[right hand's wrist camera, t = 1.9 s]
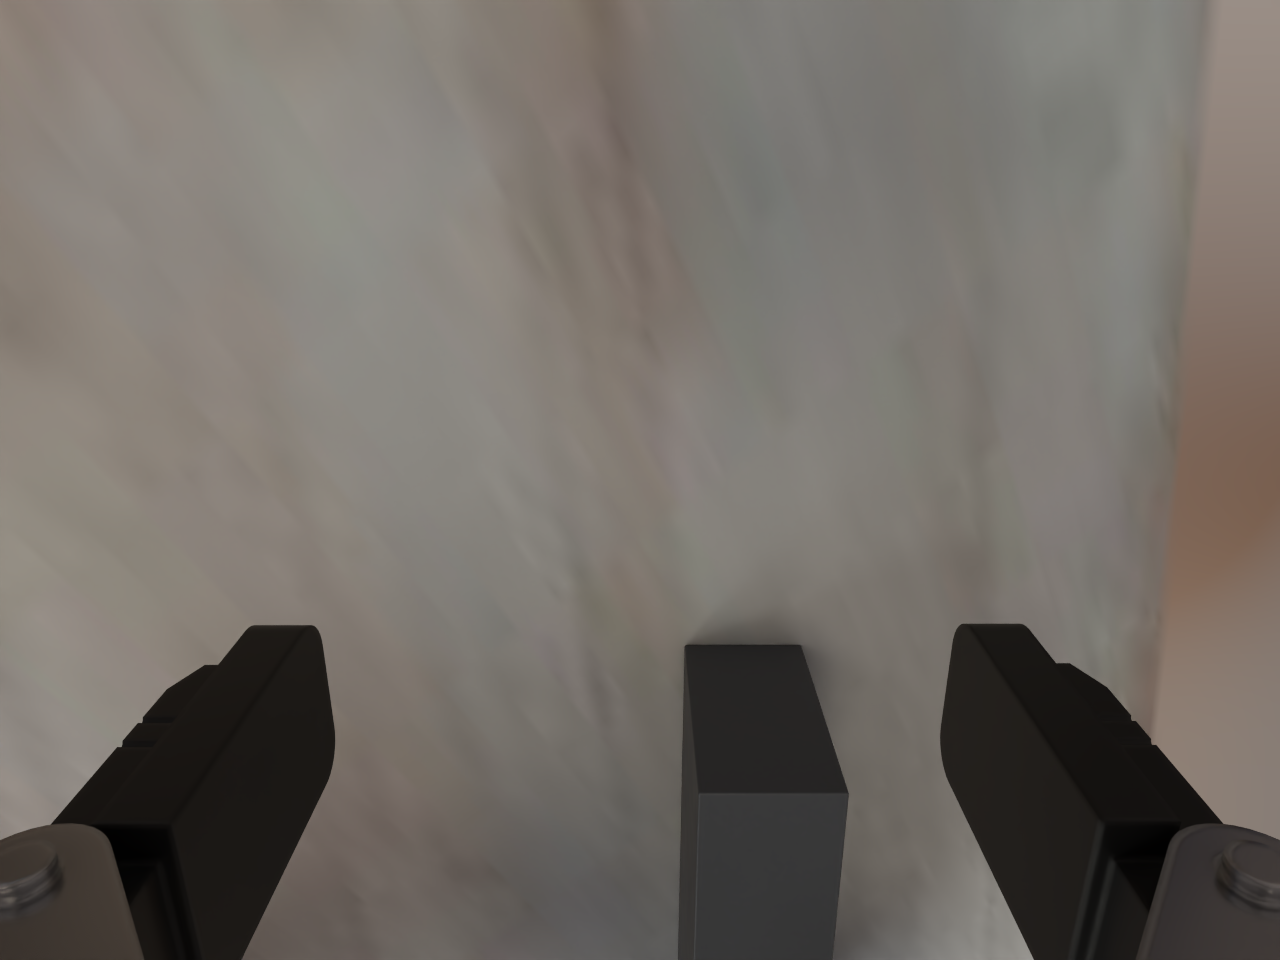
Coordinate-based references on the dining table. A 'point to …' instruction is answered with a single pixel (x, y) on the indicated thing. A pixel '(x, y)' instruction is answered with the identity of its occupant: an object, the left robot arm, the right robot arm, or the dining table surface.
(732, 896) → the box
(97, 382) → the dining table surface
